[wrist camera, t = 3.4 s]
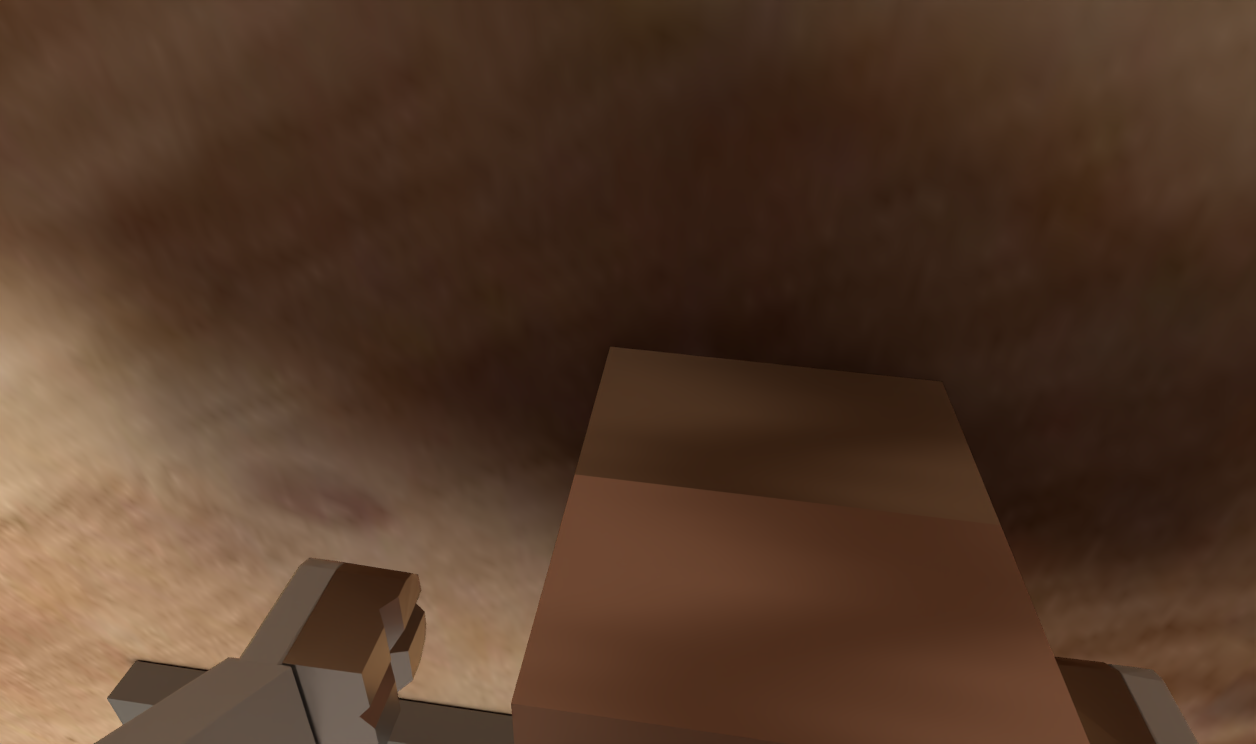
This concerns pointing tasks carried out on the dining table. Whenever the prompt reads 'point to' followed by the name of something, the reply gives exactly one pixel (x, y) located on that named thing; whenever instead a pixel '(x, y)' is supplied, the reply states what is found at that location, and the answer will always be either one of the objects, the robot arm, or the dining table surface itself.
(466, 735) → the base plate
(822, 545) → the brown block
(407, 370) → the dining table surface
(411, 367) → the dining table surface
